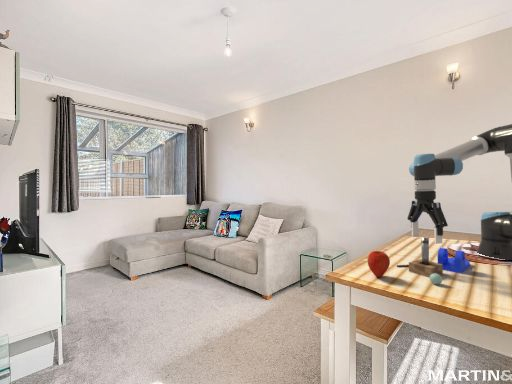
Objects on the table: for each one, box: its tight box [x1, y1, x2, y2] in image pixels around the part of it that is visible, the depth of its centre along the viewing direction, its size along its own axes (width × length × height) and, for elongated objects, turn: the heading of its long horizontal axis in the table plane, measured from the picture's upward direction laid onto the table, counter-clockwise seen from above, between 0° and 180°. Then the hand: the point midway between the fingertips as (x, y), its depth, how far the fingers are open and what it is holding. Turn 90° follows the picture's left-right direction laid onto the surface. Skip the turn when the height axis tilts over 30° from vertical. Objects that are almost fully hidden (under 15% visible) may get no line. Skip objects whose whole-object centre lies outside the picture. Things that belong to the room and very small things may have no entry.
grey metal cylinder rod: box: [420, 237, 430, 265], centre depth 109 cm, size 3×3×15 cm
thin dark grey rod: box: [396, 264, 409, 268], centre depth 118 cm, size 14×1×1 cm, turn 94°
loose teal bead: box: [429, 273, 443, 285], centre depth 97 cm, size 4×4×4 cm
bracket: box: [437, 247, 471, 275], centre depth 116 cm, size 18×8×9 cm, turn 128°
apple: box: [367, 250, 391, 278], centre depth 106 cm, size 9×8×11 cm
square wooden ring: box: [408, 258, 444, 278], centre depth 109 cm, size 9×9×4 cm
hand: (426, 239), depth 109 cm, fingers open, 13 cm apart
